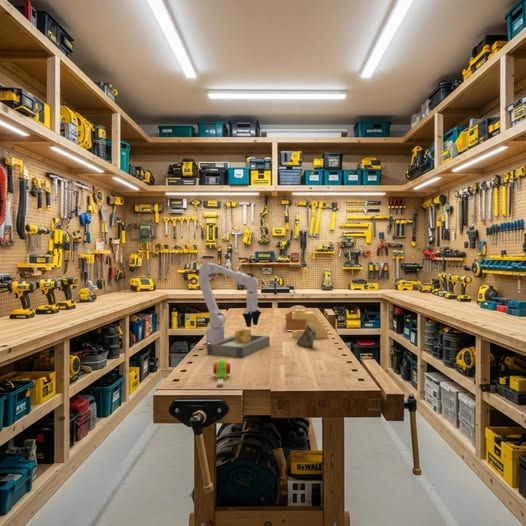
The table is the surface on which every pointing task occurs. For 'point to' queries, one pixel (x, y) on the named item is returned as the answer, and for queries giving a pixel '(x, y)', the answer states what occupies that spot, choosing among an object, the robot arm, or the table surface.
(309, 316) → the pale yellow sloped piece
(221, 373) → the toy measuring tape
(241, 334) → the block
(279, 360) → the table surface
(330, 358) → the table surface
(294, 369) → the table surface
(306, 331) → the concrete fragment
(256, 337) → the trap track
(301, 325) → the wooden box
